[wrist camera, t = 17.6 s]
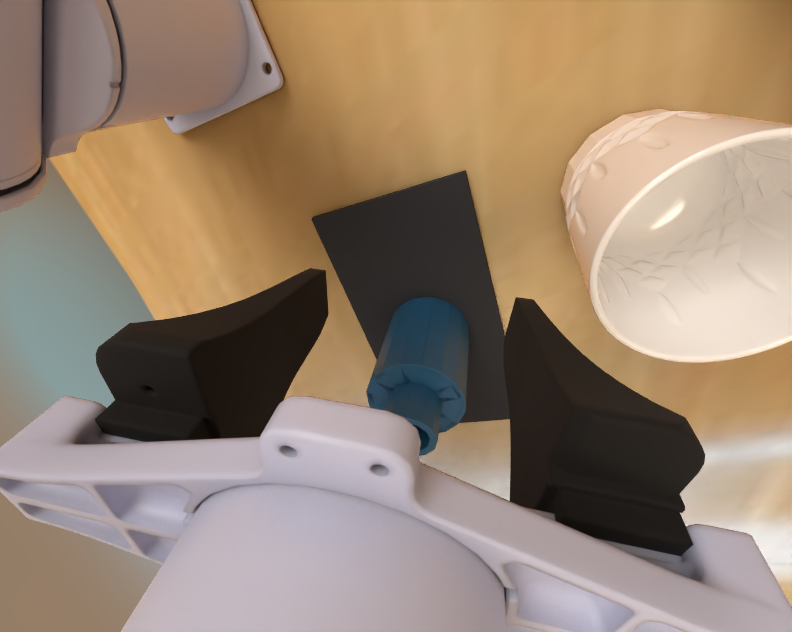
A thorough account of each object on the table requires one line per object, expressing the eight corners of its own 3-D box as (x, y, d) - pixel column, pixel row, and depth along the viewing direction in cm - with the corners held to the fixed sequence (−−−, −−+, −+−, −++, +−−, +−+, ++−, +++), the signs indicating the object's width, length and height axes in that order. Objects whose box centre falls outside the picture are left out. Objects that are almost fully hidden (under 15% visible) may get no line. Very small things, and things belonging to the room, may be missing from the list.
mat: (313, 216, 24) (311, 219, 24) (465, 170, 21) (465, 172, 21) (408, 423, 34) (408, 427, 34) (523, 414, 31) (523, 418, 30)
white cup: (547, 256, 23) (581, 365, 15) (551, 112, 19) (602, 155, 11) (698, 242, 21) (835, 361, 13) (741, 77, 17) (983, 98, 9)
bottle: (375, 329, 28) (335, 432, 20) (425, 281, 25) (399, 381, 17) (432, 371, 29) (414, 483, 22) (486, 331, 26) (487, 444, 19)
